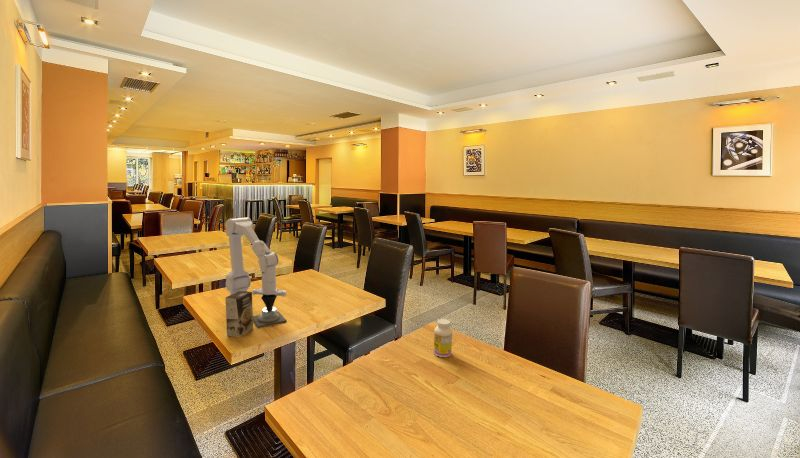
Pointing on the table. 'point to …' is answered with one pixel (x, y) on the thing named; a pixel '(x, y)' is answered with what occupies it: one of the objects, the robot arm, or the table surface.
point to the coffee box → (239, 313)
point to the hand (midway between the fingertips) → (269, 310)
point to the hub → (268, 320)
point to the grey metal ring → (269, 313)
